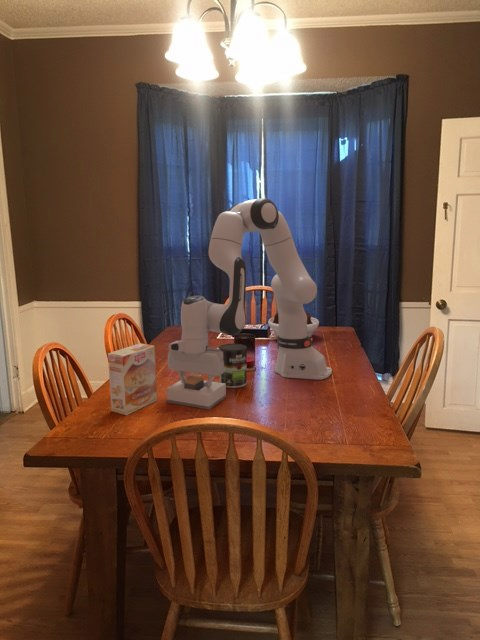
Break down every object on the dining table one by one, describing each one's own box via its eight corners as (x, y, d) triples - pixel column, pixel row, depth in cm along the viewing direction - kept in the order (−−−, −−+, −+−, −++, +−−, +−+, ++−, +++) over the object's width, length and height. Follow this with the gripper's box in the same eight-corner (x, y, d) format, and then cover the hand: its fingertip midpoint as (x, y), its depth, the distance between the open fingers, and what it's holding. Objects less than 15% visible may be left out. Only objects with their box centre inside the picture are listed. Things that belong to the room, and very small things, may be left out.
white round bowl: (322, 345, 240) (322, 314, 237) (269, 345, 241) (269, 314, 237) (315, 333, 265) (315, 304, 261) (267, 333, 265) (267, 305, 262)
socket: (225, 397, 174) (225, 383, 173) (209, 409, 164) (208, 394, 162) (185, 391, 181) (185, 377, 180) (167, 402, 170) (166, 388, 169)
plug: (203, 394, 174) (203, 375, 172) (194, 400, 168) (194, 380, 167) (193, 392, 175) (193, 373, 174) (184, 398, 170) (184, 378, 168)
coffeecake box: (126, 415, 159) (122, 356, 155) (110, 411, 163) (106, 353, 159) (158, 400, 172) (155, 345, 168) (142, 397, 176) (139, 342, 171)
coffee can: (252, 385, 186) (251, 348, 183) (226, 390, 181) (226, 351, 178) (239, 377, 195) (238, 341, 192) (214, 381, 190) (214, 345, 187)
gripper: (227, 346, 167) (228, 386, 169) (174, 340, 175) (176, 378, 178) (218, 350, 161) (219, 392, 164) (164, 344, 170) (166, 383, 172)
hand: (196, 384), depth 171 cm, fingers open, 8 cm apart
